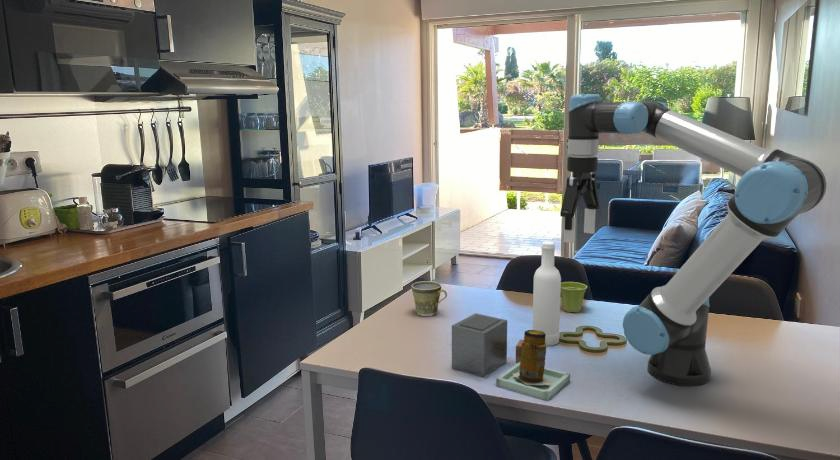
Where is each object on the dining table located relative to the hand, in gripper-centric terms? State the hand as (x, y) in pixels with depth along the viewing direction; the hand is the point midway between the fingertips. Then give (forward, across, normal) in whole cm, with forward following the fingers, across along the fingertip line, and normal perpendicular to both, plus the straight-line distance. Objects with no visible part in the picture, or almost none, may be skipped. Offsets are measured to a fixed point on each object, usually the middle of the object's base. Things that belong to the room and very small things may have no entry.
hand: (579, 237), depth 164 cm
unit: (+35, +16, -20) cm, 43 cm away
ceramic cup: (+35, -10, -55) cm, 66 cm away
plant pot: (+35, -40, -18) cm, 56 cm away
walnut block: (+35, +7, -11) cm, 37 cm away
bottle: (+35, -9, -13) cm, 38 cm away
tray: (+35, +19, -3) cm, 39 cm away
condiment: (+34, +20, -3) cm, 39 cm away
